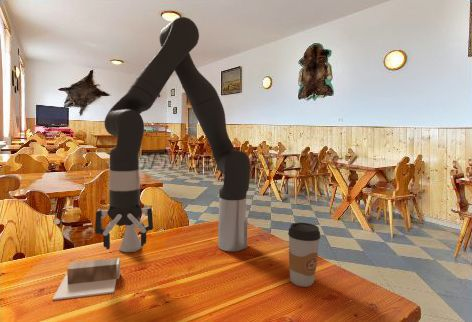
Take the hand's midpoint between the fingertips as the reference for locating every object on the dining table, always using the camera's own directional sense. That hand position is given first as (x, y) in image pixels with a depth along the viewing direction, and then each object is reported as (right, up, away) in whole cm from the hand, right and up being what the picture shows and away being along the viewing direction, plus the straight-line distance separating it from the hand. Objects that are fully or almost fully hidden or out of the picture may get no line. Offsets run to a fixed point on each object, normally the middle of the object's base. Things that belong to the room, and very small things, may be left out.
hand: (125, 246), depth 79 cm
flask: (-5, -6, +19) cm, 21 cm away
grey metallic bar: (-2, -6, 0) cm, 6 cm away
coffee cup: (+47, -10, +1) cm, 48 cm away
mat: (-9, -8, -2) cm, 12 cm away
